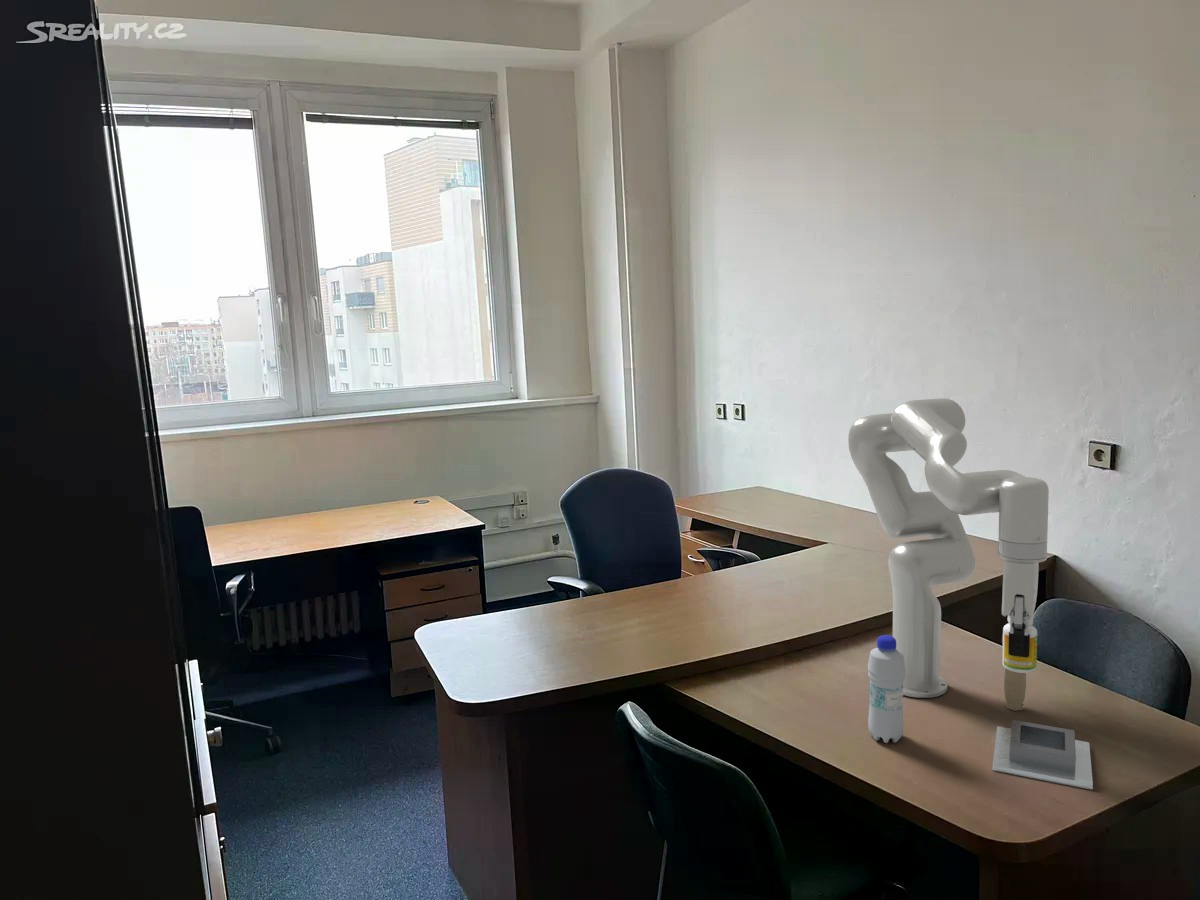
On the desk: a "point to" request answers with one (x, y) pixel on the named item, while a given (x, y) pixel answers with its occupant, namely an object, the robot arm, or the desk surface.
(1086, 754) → the socket
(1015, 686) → the handle
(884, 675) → the bottle
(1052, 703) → the desk surface
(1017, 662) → the supplement bottle
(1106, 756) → the desk surface
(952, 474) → the robot arm
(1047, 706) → the desk surface
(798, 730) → the desk surface
